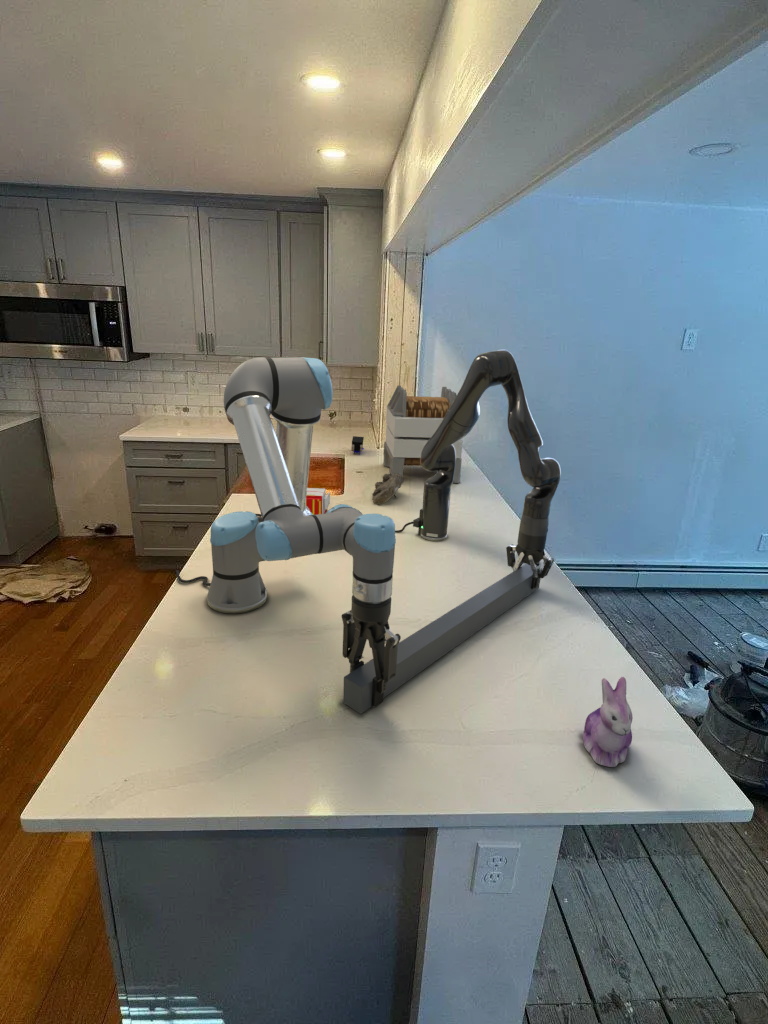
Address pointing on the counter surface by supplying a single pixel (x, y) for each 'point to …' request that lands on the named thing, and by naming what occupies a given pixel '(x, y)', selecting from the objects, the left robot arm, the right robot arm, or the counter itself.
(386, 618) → the left robot arm
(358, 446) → the figurine character
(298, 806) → the counter surface
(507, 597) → the post
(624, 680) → the figurine
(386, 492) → the fossil
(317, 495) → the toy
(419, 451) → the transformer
